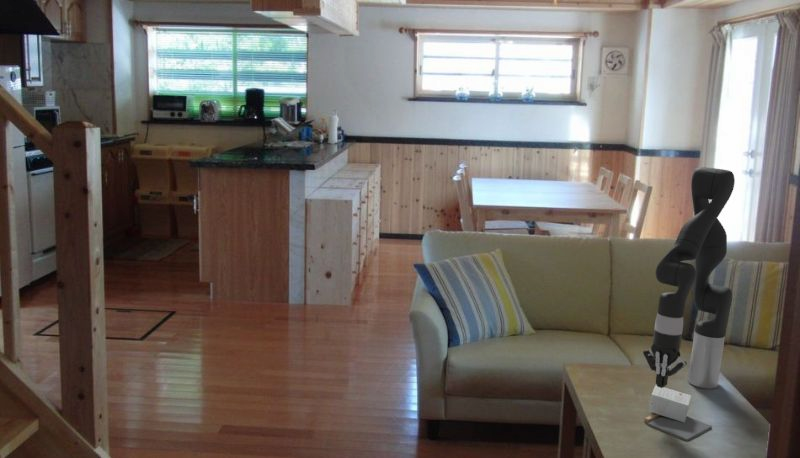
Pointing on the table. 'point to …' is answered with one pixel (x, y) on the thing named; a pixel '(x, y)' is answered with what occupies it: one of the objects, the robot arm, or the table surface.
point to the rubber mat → (680, 427)
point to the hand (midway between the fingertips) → (660, 386)
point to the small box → (669, 403)
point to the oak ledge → (652, 417)
